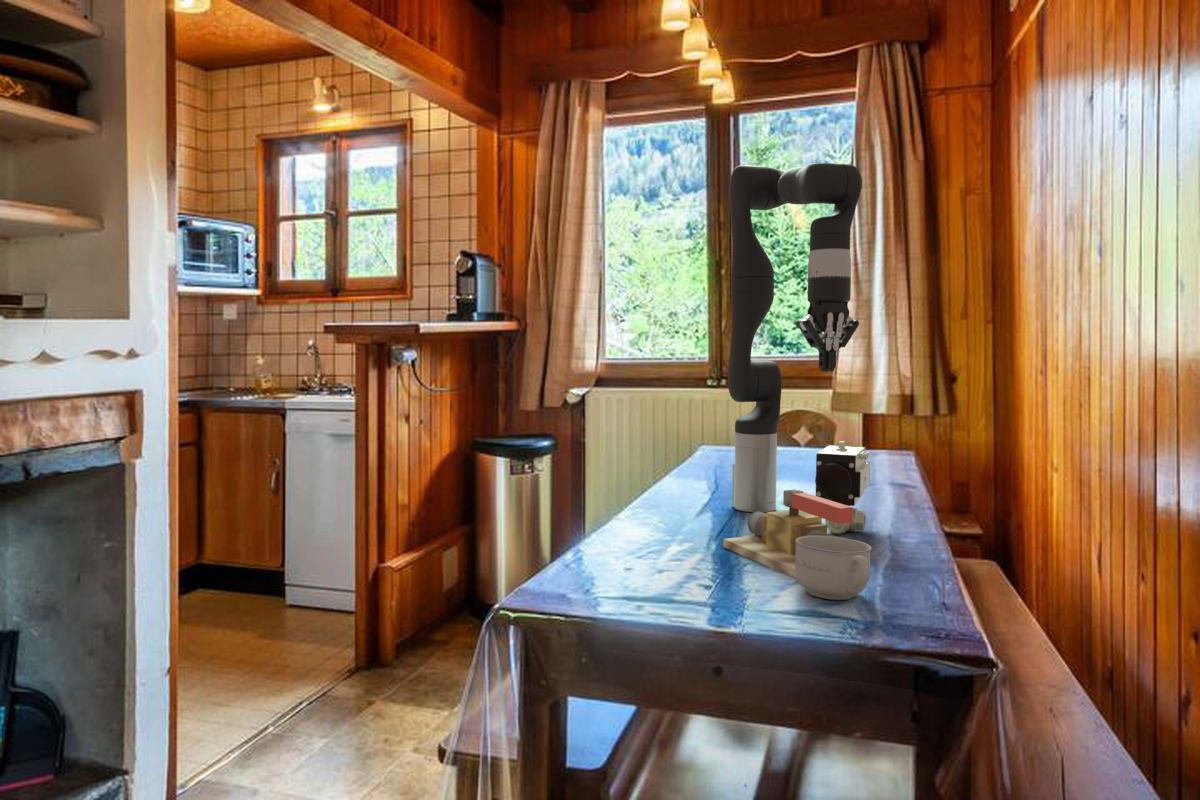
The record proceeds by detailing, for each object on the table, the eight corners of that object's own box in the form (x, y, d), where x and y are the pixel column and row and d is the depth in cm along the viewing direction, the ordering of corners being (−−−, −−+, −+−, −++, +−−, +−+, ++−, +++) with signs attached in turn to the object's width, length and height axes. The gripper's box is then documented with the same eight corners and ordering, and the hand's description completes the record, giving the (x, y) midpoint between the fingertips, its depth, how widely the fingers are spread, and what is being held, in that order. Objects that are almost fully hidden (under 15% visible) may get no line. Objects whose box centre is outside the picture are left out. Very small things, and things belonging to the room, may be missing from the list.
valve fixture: (723, 546, 142) (723, 498, 142) (789, 538, 149) (790, 491, 148) (797, 578, 123) (798, 522, 123) (869, 567, 129) (871, 514, 129)
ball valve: (859, 543, 145) (861, 448, 143) (812, 538, 148) (814, 446, 147) (871, 523, 161) (873, 437, 159) (829, 519, 164) (831, 435, 163)
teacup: (784, 583, 121) (785, 533, 120) (852, 582, 122) (853, 531, 121) (817, 615, 107) (818, 558, 106) (893, 612, 108) (894, 556, 107)
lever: (781, 504, 136) (781, 490, 136) (796, 503, 137) (796, 489, 137) (837, 524, 122) (837, 508, 121) (854, 522, 123) (854, 507, 123)
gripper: (813, 273, 135) (812, 373, 136) (872, 275, 141) (869, 371, 142) (786, 276, 142) (785, 371, 143) (843, 278, 147) (841, 370, 149)
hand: (827, 371), depth 143 cm, fingers closed
